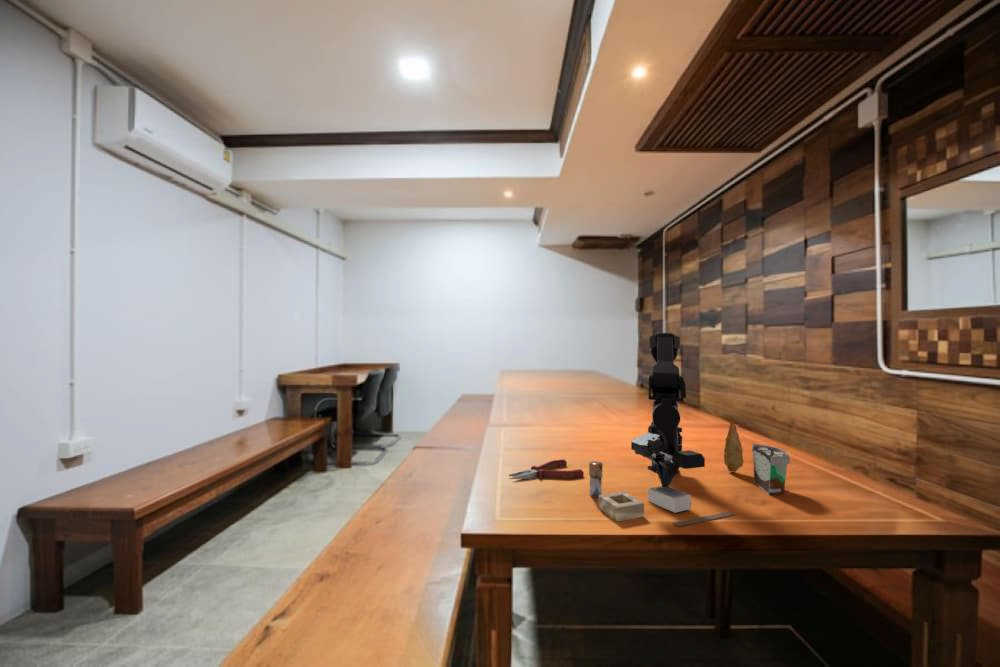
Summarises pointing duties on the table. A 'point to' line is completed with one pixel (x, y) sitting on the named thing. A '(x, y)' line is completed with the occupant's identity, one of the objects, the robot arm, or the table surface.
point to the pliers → (549, 471)
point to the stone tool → (733, 449)
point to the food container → (770, 468)
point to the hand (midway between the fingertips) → (665, 487)
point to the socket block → (621, 506)
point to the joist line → (703, 519)
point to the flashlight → (595, 478)
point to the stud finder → (669, 498)
